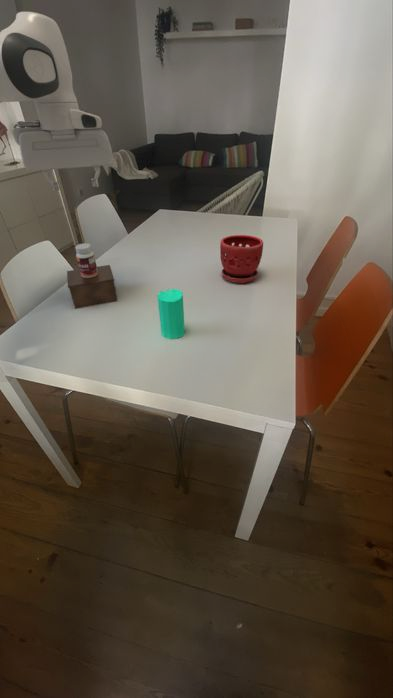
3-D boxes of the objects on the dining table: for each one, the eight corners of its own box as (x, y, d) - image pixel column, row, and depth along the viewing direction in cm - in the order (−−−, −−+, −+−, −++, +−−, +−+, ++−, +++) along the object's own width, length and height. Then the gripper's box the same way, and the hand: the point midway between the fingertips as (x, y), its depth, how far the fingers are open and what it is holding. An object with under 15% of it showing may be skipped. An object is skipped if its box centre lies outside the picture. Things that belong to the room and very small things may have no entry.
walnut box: (74, 309, 90) (67, 286, 85) (73, 292, 98) (67, 271, 93) (118, 301, 93) (114, 278, 88) (113, 286, 101) (109, 264, 96)
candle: (186, 326, 82) (184, 283, 74) (182, 339, 77) (180, 295, 70) (163, 324, 82) (159, 282, 75) (158, 338, 78) (153, 294, 70)
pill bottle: (77, 277, 90) (69, 247, 85) (88, 270, 93) (81, 242, 88) (91, 279, 88) (84, 250, 83) (101, 272, 92) (95, 244, 87)
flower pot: (266, 282, 100) (271, 244, 93) (227, 288, 98) (229, 250, 90) (249, 266, 110) (252, 231, 103) (214, 271, 108) (214, 235, 100)
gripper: (7, 122, 65) (30, 195, 74) (107, 118, 70) (118, 187, 79) (10, 121, 70) (32, 189, 79) (104, 117, 75) (115, 182, 83)
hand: (76, 188), depth 79 cm, fingers open, 8 cm apart
